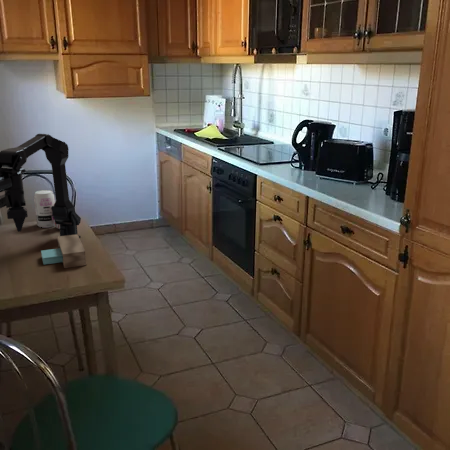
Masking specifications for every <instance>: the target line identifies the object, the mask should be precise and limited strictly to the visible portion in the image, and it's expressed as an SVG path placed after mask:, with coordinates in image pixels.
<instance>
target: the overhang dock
mask: <svg viewBox="0 0 450 450" xmlns="http://www.w3.org/2000/svg"><path fill="white" fill-rule="evenodd" d="M78 235H79V233H78V234H76V235H67V236H60V235H58V236H57V237H56V239H57V247H58V248H57V249H59V248H60V249H61V252H62V255H63V262H62V266H63V268H64V269H67V268H77V267H82V266H84V267H85V266H87V257H86V249H85V248H84V245H83V243H82V241H81V239H80V238H79V236H80V235H79V236H78Z"/></svg>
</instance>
